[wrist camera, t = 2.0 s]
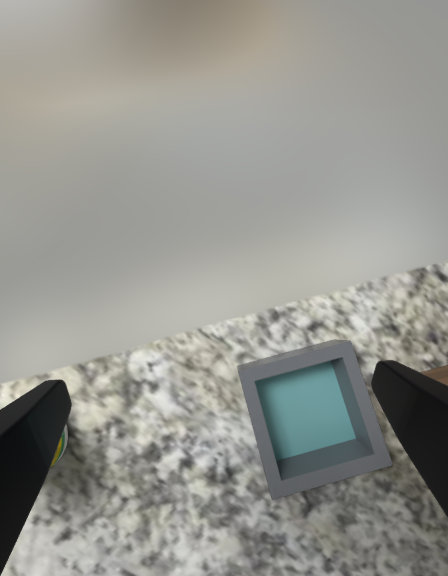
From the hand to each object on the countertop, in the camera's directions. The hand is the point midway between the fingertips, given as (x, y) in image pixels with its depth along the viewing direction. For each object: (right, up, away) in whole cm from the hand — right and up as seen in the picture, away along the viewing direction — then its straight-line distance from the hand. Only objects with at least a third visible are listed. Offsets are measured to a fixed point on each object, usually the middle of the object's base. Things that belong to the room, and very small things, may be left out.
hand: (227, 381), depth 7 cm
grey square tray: (+7, -7, +14) cm, 17 cm away
